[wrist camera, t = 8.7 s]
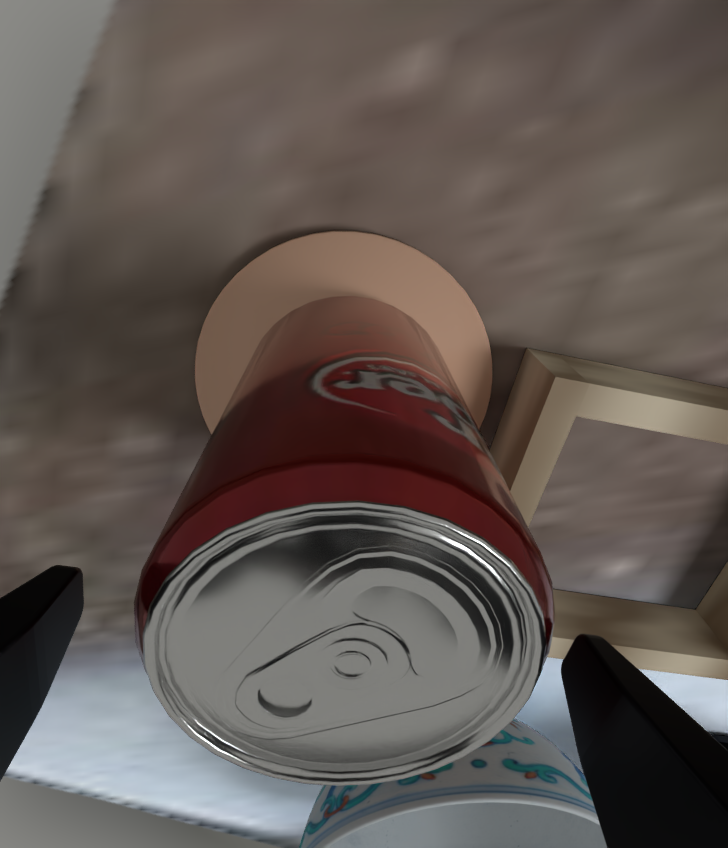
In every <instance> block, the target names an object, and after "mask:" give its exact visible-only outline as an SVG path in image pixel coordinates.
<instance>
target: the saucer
mask: <svg viewBox="0 0 728 848" xmlns="http://www.w3.org/2000/svg"><path fill="white" fill-rule="evenodd" d="M335 296H358V297H364V298H371V299H375V300H378V301H381V302H383V303H386V304H389V305H392V306H394V307H396V308H397V309H399V310H401V311H402V312H404V313H405V314H407V315H409V316H410V317H412V318H413V319H414V320H415V321H416V322H417V323H418V324H419V325H420V326H421V327H422V328H423V329H425V330H426V331H427V333H428V334H429V336H430V337H431V338H432V340H433V341H434V343H435V344H436V346H437V347H438V349H439V351H440V353H441V355H442V357H443V359H444V361H445V363H446V365H447V367H448V369H449V371H450V373H451V375H452V377H453V379H454V381H455V383H456V385H457V387H458V389H459V391H460V393H461V395H462V397H463V399H464V401H465V403H466V405H467V407H468V409H469V411H470V413H471V415H472V417H473V419H474V421H475V423H476V425H477V427H478V429H480V427H481V424H482V422H483V419H484V417H485V415H486V411H487V407H488V404H489V400H490V395H491V387H492V356H491V350H490V343H489V340H488V337H487V333H486V330H485V327H484V324H483V322H482V320H481V318H480V315H479V313H478V311H477V309H476V307H475V305H474V304H473V302H472V301H471V299H470V298H469V296H468V295H467V293H466V292H465V290H464V289H463V288H462V287H461V286H460V285H459V284H458V282H457V281H456V280H455V279H454V278H453V277H452V276H451V275H450V274H449V273H448V272H447V271H446V270H445V269H444V268H443V267H441V266H440V265H439V264H438V263H437V262H435V261H434V260H433V259H432V258H430V257H428V256H427V255H425V254H424V253H422V252H421V251H419V250H417V249H416V248H414V247H411V246H409V245H407V244H405V243H403V242H400V241H398V240H396V239H392V238H389V237H386V236H382V235H379V234H374V233H368V232H361V231H341V230H333V231H326V232H318V233H311V234H308V235H304V236H301V237H297V238H293V239H291V240H288V241H286V242H284V243H281V244H279V245H277V246H275V247H272V248H271V249H269V250H268V251H266V252H264V253H263V254H261V255H259V256H258V257H256V258H255V259H254V260H252V261H251V262H250V263H249V264H248V265H246V266H245V267H244V268H243V269H242V270H240V271H239V272H238V273H237V274H236V275H235V276H234V277H233V279H232V280H231V281H230V282H229V283H228V284H227V285H226V286H225V288H224V289H223V290H222V291H221V293H220V294H219V296H218V297H217V299H216V300H215V302H214V303H213V305H212V306H211V309H210V311H209V313H208V315H207V317H206V319H205V322H204V324H203V327H202V330H201V333H200V337H199V340H198V344H197V351H196V358H195V383H196V390H197V397H198V401H199V404H200V408H201V411H202V415H203V417H204V420H205V422H206V424H207V426H208V429H209V431H210V433H211V434H212V433H213V431H214V429H215V427H216V425H217V423H218V421H219V419H220V417H221V416H222V414H223V412H224V410H225V408H226V406H227V404H228V402H229V400H230V398H231V396H232V394H233V392H234V390H235V388H236V386H237V384H238V383H239V381H240V379H241V377H242V375H243V373H244V371H245V369H246V367H247V365H248V363H249V361H250V359H251V357H252V355H253V354H254V352H255V350H256V348H257V346H258V344H259V343H260V341H261V339H262V338H263V337H264V335H265V334H266V333H267V332H268V331H269V330H270V329H271V327H272V326H273V325H274V324H275V323H276V322H278V321H279V320H280V319H282V318H283V317H284V316H285V315H287V314H288V313H289V312H291V311H292V310H294V309H297V308H299V307H301V306H303V305H305V304H307V303H309V302H312V301H316V300H320V299H324V298H328V297H335Z"/></svg>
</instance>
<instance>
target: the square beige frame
mask: <svg viewBox="0 0 728 848" xmlns="http://www.w3.org/2000/svg"><path fill="white" fill-rule="evenodd" d="M576 416H578V417H583V418H588V419H594V420H599V421H604V422H610V423H615V424H620V425H626V426H631V427H636V428H642V429H647V430H652V431H658V432H663V433H669V434H674V435H679V436H685V437H690V438H695V439H701V440H706V441H711V442H717V443H722V444H727V445H728V388H723V387H718V386H713V385H708V384H703V383H698V382H693V381H688V380H683V379H678V378H673V377H668V376H663V375H658V374H653V373H648V372H643V371H638V370H633V369H629V368H624V367H619V366H614V365H609V364H604V363H599V362H594V361H589V360H584V359H579V358H574V357H569V356H564V355H559V354H554V353H549V352H544V351H539V350H534V349H529V348H526V351H525V354H524V357H523V359H522V362H521V365H520V368H519V370H518V373H517V376H516V379H515V381H514V384H513V387H512V390H511V392H510V395H509V398H508V401H507V404H506V406H505V409H504V412H503V415H502V417H501V420H500V423H499V426H498V428H497V431H496V434H495V437H494V440H493V442H492V445H491V448H490V453H491V455H492V457H493V459H494V461H495V463H496V464H497V466H498V468H499V470H500V472H501V474H502V476H503V478H504V480H505V482H506V484H507V486H508V488H509V490H510V492H511V494H512V496H513V498H514V500H515V502H516V504H517V506H518V508H519V510H520V512H521V514H522V516H523V518H524V520H525V522H526V524H527V526H528V527H529V524H530V522H531V520H532V517H533V515H534V513H535V510H536V508H537V506H538V503H539V501H540V499H541V496H542V494H543V492H544V489H545V487H546V485H547V482H548V480H549V478H550V475H551V473H552V471H553V468H554V466H555V464H556V461H557V459H558V457H559V455H560V452H561V450H562V448H563V445H564V443H565V441H566V438H567V436H568V434H569V431H570V429H571V427H572V424H573V422H574V420H575V417H576ZM553 597H554V607H555V624H554V630H553V635H552V641H551V647H550V652H549V654H548V656H547V657H551V658H559V659H564V658H565V656H566V654H567V652H568V651H569V649H570V647H571V645H572V643H573V641H574V640H575V638H576V636H578V635H579V634H591V635H598V636H601V637H603V638H604V639H605V640H606V641H608V642H609V643H610V644H611V645H612V646H613V647H614V648H615V649H616V650H617V651H619V652H620V653H621V654H622V655H623V656H624V657H625V658H626V659H627V660H628V661H630V662H631V663H632V664H633V665H634V666H635V667H636V668H638V669H645V670H653V671H661V672H669V673H677V674H685V675H693V676H701V677H709V678H716V679H724V680H728V562H727V563H726V565H725V566H724V568H723V569H722V571H721V572H720V574H719V575H718V577H717V578H716V580H715V581H714V583H713V584H712V586H711V587H710V589H709V590H708V592H707V593H706V595H705V596H704V598H703V600H702V601H701V603H700V604H699V606H698V607H697V609H696V610H694V609H687V608H680V607H673V606H666V605H659V604H652V603H645V602H638V601H631V600H624V599H617V598H610V597H603V596H596V595H589V594H582V593H575V592H568V591H561V590H554V589H553Z"/></svg>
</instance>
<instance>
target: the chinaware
mask: <svg viewBox="0 0 728 848" xmlns="http://www.w3.org/2000/svg"><path fill="white" fill-rule="evenodd" d="M299 848H607V846H606V842H605V839H604V836H603V833H602V830H601V826H600V823H599V820H598V817H597V814H596V810H595V807H594V804H593V801H592V798H591V794H590V791H589V788H588V785H587V782H586V779H585V776H584V775H583V773H582V772H581V771H580V770H579V769H578V768H577V767H576V766H575V764H574V763H573V762H572V761H571V760H570V759H569V758H568V757H567V756H566V755H565V754H564V753H563V752H562V751H560V750H559V749H558V748H557V747H556V746H555V745H554V744H553V743H551V742H550V741H549V740H548V739H546V738H545V737H544V736H542V735H541V734H539V733H538V732H537V731H535V730H534V729H532V728H530V727H529V726H527V725H526V724H524V723H522V722H520V721H518V720H517V719H515V718H514V719H513V720H512V721H511V722H510V723H509V724H508V725H507V726H506V727H505V728H504V729H502V730H501V731H500V732H499V733H498V734H497V735H496V736H495V737H493V738H492V739H491V740H490V741H489V742H487V743H485V744H484V745H482V746H481V747H479V748H477V749H476V750H474V751H473V752H471V753H469V754H468V755H466V756H465V757H463V758H460V759H458V760H456V761H454V762H451V763H449V764H447V765H445V766H442V767H440V768H438V769H436V770H432V771H429V772H426V773H422V774H419V775H415V776H412V777H409V778H405V779H400V780H394V781H388V782H382V783H376V784H366V785H346V786H334V785H323V787H322V789H321V791H320V793H319V795H318V797H317V799H316V802H315V804H314V806H313V808H312V811H311V813H310V816H309V819H308V821H307V824H306V827H305V830H304V833H303V836H302V839H301V843H300V846H299Z"/></svg>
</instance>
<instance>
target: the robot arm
mask: <svg viewBox="0 0 728 848" xmlns="http://www.w3.org/2000/svg"><path fill="white" fill-rule="evenodd" d="M83 606H84V596H83V574H82V571H81V569H79V568H77V567H70V566H62V565H55V566H53V567H50V568H49V569H47V570H45V571H44V572H42V573H41V574H39V575H37V576H36V577H34V578H32V579H31V580H29V581H28V582H26V583H24V584H23V585H21V586H19V587H18V588H16V589H15V590H13V591H11V592H10V593H8V594H6V595H5V596H3V597H2V598H0V781H1V779H2V777H3V776H4V774H5V772H6V770H7V769H8V767H9V765H10V763H11V761H12V760H13V758H14V756H15V754H16V752H17V751H18V749H19V747H20V745H21V744H22V742H23V740H24V738H25V736H26V735H27V733H28V731H29V729H30V727H31V726H32V724H33V722H34V720H35V718H36V716H37V715H38V713H39V711H40V709H41V707H42V705H43V703H44V700H45V698H46V696H47V694H48V692H49V689H50V687H51V685H52V682H53V680H54V678H55V675H56V673H57V671H58V668H59V666H60V664H61V662H62V659H63V657H64V655H65V652H66V650H67V648H68V645H69V643H70V641H71V638H72V636H73V634H74V631H75V629H76V627H77V625H78V622H79V620H80V617H81V615H82V611H83ZM561 675H562V680H563V685H564V690H565V694H566V699H567V704H568V708H569V713H570V718H571V722H572V727H573V732H574V736H575V741H576V746H577V750H578V754H579V758H580V762H581V765H582V768H583V772H584V775H585V779H586V782H587V785H588V788H589V791H590V794H591V798H592V801H593V804H594V807H595V810H596V814H597V817H598V820H599V823H600V826H601V830H602V833H603V836H604V839H605V842H606V846H607V848H728V736H720V735H712V736H711V735H710V734H709V733H708V732H707V731H706V730H705V729H704V728H703V727H701V726H700V725H699V724H698V723H697V722H696V721H695V720H694V719H693V718H691V717H690V716H689V715H688V714H687V713H686V712H685V711H684V710H683V709H682V708H680V707H679V706H678V705H677V704H676V703H675V702H674V701H673V700H672V699H670V698H669V697H668V696H667V695H666V694H665V693H664V692H663V691H662V690H661V689H659V688H658V687H657V686H656V685H655V684H654V683H653V682H652V681H651V680H649V679H648V678H647V677H646V676H645V675H644V674H643V673H642V672H641V671H640V670H638V669H637V668H636V667H635V666H634V665H633V664H632V663H631V662H630V661H628V660H627V659H626V658H625V657H624V656H623V655H622V654H621V653H620V652H619V651H617V650H616V649H615V648H614V647H613V646H612V645H611V644H610V643H609V642H608V641H606V640H605V639H604V638H603V637H601V636H598V635H591V634H579V635H578V636H576V638H575V640H574V641H573V643H572V645H571V647H570V649H569V651H568V652H567V654H566V656H565V658H564V660H563V662H562V666H561Z"/></svg>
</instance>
